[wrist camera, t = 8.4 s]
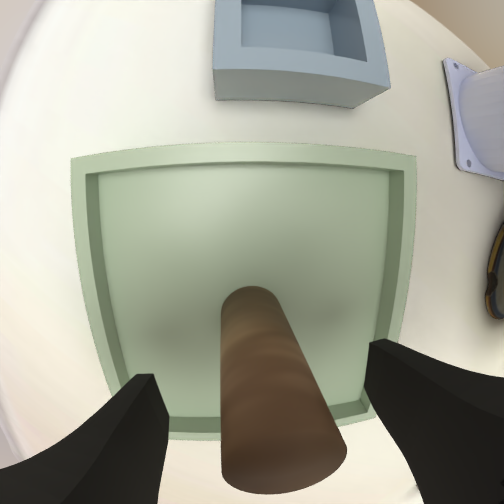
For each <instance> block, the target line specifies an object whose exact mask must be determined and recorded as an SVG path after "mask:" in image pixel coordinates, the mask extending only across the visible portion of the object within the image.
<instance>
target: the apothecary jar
mask: <svg viewBox="0 0 504 504" xmlns="http://www.w3.org/2000/svg"><path fill="white" fill-rule="evenodd" d="M487 275H488V281H489V286H488V289H487V292H486V294H485V299H486V306H487V310H488V313H489V314H490V315H491V316H492V317H493V318H495V319H503V318H504V223H503V225H502V226H501V228H500V230H499V233H498V235H497V237H496V240H495V243H494V245H493V249H492V252H491V256H490V260H489V265H488V270H487Z"/></svg>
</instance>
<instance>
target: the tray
mask: <svg viewBox="0 0 504 504" xmlns="http://www.w3.org/2000/svg"><path fill="white" fill-rule="evenodd" d="M416 192H417V169H416V156H412V155H406V154H400V153H393V152H387V151H379V150H372V149H363V148H354V147H345V146H333V145H321V144H305V143H281V142H218V143H195V144H179V145H166V146H155V147H145V148H136V149H128V150H120V151H113V152H106V153H100V154H94V155H88V156H82V157H77V158H71V199H72V216H73V228H74V238H75V246H76V254H77V261H78V268H79V274H80V280H81V286H82V291H83V296H84V301H85V306H86V311H87V315H88V319H89V323H90V327H91V331H92V335H93V339H94V343H95V346H96V350H97V353H98V357H99V360H100V363H101V366H102V369H103V372H104V375H105V378H106V381H107V384H108V387H109V390H110V393H111V395H112V397H113V396H114V395H115V394H116V393H117V392H118V391H119V390H120V389H121V388H122V387H123V386H124V385H125V384H126V383H127V382H128V381H129V380H130V379H131V378H132V377H134V376H135V375H136V374H147V373H154V376H155V379H156V382H157V385H158V387H159V390H160V393H161V395H162V398H163V401H164V403H165V406H166V408H167V411H168V413H169V416H170V419H169V437H168V439H171V440H195V441H221V423H220V336H221V309H222V305H223V303H224V301H225V300H226V298H227V297H228V296H229V295H230V294H231V293H232V292H234V291H235V290H237V289H239V288H242V287H246V286H258V287H262V288H265V289H267V290H269V291H270V292H272V293H273V294H274V295H275V296H276V298H277V299H278V301H279V303H280V305H281V307H282V309H283V311H284V314H285V316H286V318H287V320H288V322H289V324H290V326H291V329H292V331H293V333H294V335H295V337H296V339H297V341H298V343H299V346H300V348H301V350H302V352H303V354H304V356H305V358H306V361H307V363H308V365H309V367H310V369H311V371H312V373H313V375H314V378H315V380H316V382H317V384H318V386H319V388H320V390H321V393H322V395H323V397H324V399H325V401H326V403H327V405H328V408H329V410H330V412H331V414H332V416H333V418H334V421H335V423H336V425H337V427H340V426H344V425H349V424H353V423H357V422H361V421H365V420H369V419H372V418H375V417H376V414H377V413H376V412H375V410H374V409H373V407H372V404H371V402H370V400H369V398H368V396H367V394H366V391H365V389H364V381H365V374H366V366H367V358H368V350H369V342H372V341H376V340H380V339H383V338H385V339H388V340H391V341H394V342H396V343H398V339H399V335H400V330H401V325H402V320H403V315H404V310H405V305H406V299H407V293H408V287H409V280H410V272H411V265H412V256H413V246H414V234H415V219H416Z"/></svg>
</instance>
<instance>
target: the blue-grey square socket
mask: <svg viewBox="0 0 504 504" xmlns="http://www.w3.org/2000/svg"><path fill="white" fill-rule="evenodd" d="M213 78H214V88H215V98H216V100H273V101H291V102H304V103H315V104H324V105H333V106H340V107H347V108H355V107H357V106H359V105H360V104H362V103H364V102H366V101H368V100H369V99H371V98H373V97H375V96H377V95H379V94H381V93H383V92H384V91H386V90H388V89H390V88H391V85H390V77H389V71H388V65H387V59H386V53H385V48H384V43H383V38H382V33H381V29H380V25H379V21H378V17H377V13H376V9H375V5H374V2H373V0H216V2H215V20H214V43H213Z"/></svg>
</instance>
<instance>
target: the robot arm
mask: <svg viewBox="0 0 504 504" xmlns="http://www.w3.org/2000/svg"><path fill="white" fill-rule="evenodd" d="M443 62H444V67H445V72H446V77H447V82H448V88H449V93H450V100H451V107H452V114H453V123H454V133H455V147H456V163H457V166H458V168H459V169H460V170H464V171H468V172H472V173H476V174H480V175H484V176H488V177H492V178H496V179H499V180H503V181H504V66H501V67H497V68H494V69H490V70H487V71H484V72H480V73H477V72H475V71H473V70H471V69H470V68H468V67H466V66H464V65H462V64H460V63H458V62H456V61H454V60H452V59H450V58H446V59H444V61H443ZM364 389H365V391H366V394H367V396H368V398H369V400H370V402H371V404H372V407H373V409H374V410H375V412H376V413H377V415H378V417H379V418H380V420H381V421H382V423H383V424H384V426H385V427H386V429H387V430H388V432H389V433H390V435H391V437H392V438H393V440H394V441H395V443H396V444H397V446H398V447H399V449H400V450H401V452H402V454H403V455H404V457H405V459H406V461H407V463H408V465H409V467H410V470H411V472H412V474H413V476H414V478H415V481H416V483H417V486H418V488H419V491H420V494H421V496H422V499H423V502H424V504H504V378H503V377H496V376H490V375H485V374H481V373H476V372H472V371H468V370H465V369H462V368H459V367H456V366H453V365H450V364H447V363H444V362H441V361H439V360H436V359H434V358H431V357H429V356H426V355H424V354H422V353H419V352H417V351H415V350H412V349H410V348H408V347H405V346H403V345H401V344H398V343H396V342H394V341H391V340H388V339H385V338H383V339H380V340H376V341H372V342H369V350H368V358H367V366H366V374H365V381H364ZM169 419H170V416H169V413H168V411H167V408H166V406H165V403H164V401H163V398H162V395H161V393H160V390H159V387H158V385H157V382H156V379H155V376H154V373H147V374H136V375H135V376H134V377H132V378H131V379H130V380H129V381H128V382H127V383H126V384H125V385H124V386H123V387H122V388H121V389H120V390H119V391H118V392H117V393H116V394H115V395H114V396H113V397H112V398H111V399H110V400H109V401H108V402H107V403H106V404H105V405H104V406H103V407H101V408H100V409H99V410H98V411H97V412H96V413H95V414H94V415H93V416H91V417H90V418H89V419H88V420H87V421H86V422H84V423H83V424H82V425H81V426H80V427H79V428H77V429H76V430H75V431H73V432H72V433H71V434H69V435H68V436H67V437H65V438H64V439H62V440H61V441H59V442H58V443H56V444H55V445H53V446H51V447H50V448H48V449H46V450H44V451H42V452H40V453H38V454H37V455H35V456H33V457H31V458H29V459H27V460H24V461H22V462H19V463H17V464H15V465H12V466H9V467H6V468H3V469H0V504H157V502H158V493H159V487H160V482H161V476H162V471H163V466H164V461H165V455H166V450H167V445H168V437H169Z"/></svg>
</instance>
